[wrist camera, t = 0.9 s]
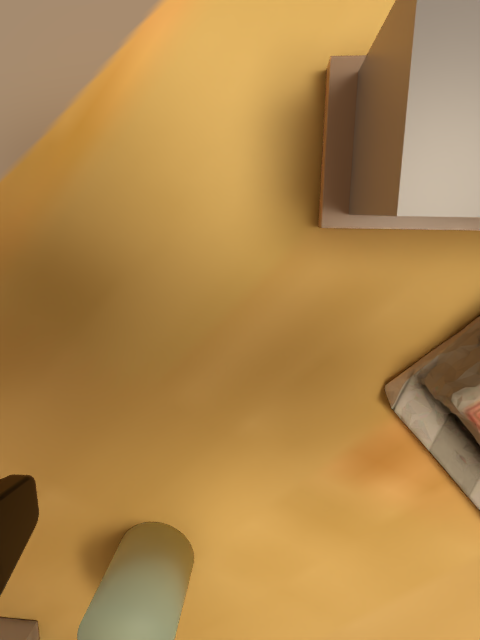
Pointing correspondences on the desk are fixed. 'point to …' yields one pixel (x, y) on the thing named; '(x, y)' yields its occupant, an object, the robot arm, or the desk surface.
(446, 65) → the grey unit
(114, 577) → the sage part
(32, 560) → the desk surface
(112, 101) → the desk surface
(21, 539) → the robot arm
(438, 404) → the packaged product
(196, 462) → the desk surface
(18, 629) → the tray
